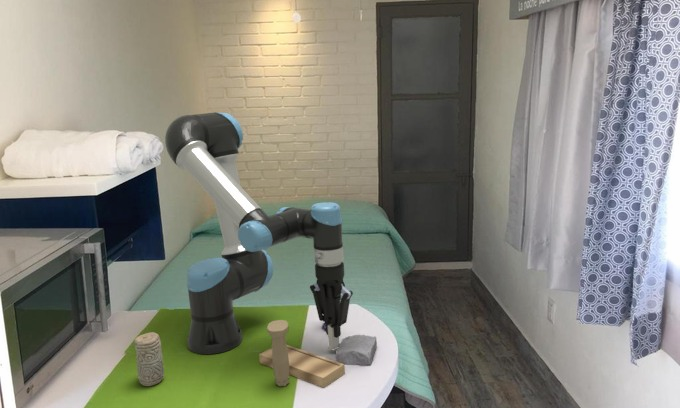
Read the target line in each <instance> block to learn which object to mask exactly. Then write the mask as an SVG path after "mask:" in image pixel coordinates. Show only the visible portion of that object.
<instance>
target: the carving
mask: <svg viewBox="0 0 680 408" xmlns="http://www.w3.org/2000/svg"><path fill="white" fill-rule="evenodd" d="M134 348H135V353H136V354H135V356H136V369H137V370H136V371H137V372H136V373H137V379H138V382H139V384H141V385H142V386H144V387H152V386H154V385H157V384H159V383H161V381H162V380H163V378H164V375H165V371H164V370H165V368H164V360H163V359H164V358H163V351H162V342H161V338H160V336H159V334H158V333H156V332H153V331H151V332H150V331H149V332H146V333H143V334H141V335H139V336H137V337H135V339H134Z"/></svg>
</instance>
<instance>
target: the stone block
mask: <svg viewBox="0 0 680 408" xmlns="http://www.w3.org/2000/svg"><path fill="white" fill-rule="evenodd" d="M339 343H340V344H339V346H338V347H337V348H336V351H335V352H336V360H337V362H339V363H342V364H344V366H371V364H372V361H373V358H374V355H375V352H376V350H377V349H376V348H377V344H378V342H377V336H376V335H375V336H373V335H372V336H370V335H365V334H354V335H349V336H346V337H344V338H342V341H340V342H339Z"/></svg>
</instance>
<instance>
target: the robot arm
mask: <svg viewBox="0 0 680 408" xmlns="http://www.w3.org/2000/svg"><path fill="white" fill-rule="evenodd" d="M242 129H243V128H242V127H241V125H240V123H239V121H238V119H236V118H235V117H234V116H232V115H231V114H230V113H227V112H218V111H217V112H216V111H215V112H214V111H213V112H207V113H200V114H199V113H198V114H187V115H186V114H185V115H181V116H179V117H177V118H176V119H174V120H173V121H172V122H171V123H170V124H169V125H168V128H167V129H166V131H165V137H164V140H165V142H164V143H165V148H166V152H167V153H168V156H169V157H170V158H171V161H172V162H173V163H174V164H175V165H176V166H177V167H178V168H179V169H180V170H186V172H187V173H188V174H189V175H190V176H191V177H192V178H193V179H194V180H195V181H196V182H197V183H198V184H199V186H200V187H201V188H202V189H203V191H204V192H206V193H207V195H208V196H209V197H210V198H211V199H212V201H213V202H214V206H215V210H216V215H217V219H218V224H219V227H220V232H221V235H222V241H223V244H224V248H223V250H222V251H221V254H220V255H221V257H212V258H209V259H203V260H201V261H197V262H196V263H194V264H193V265H191V267H189V269H188V270H187V273H186V279H187V280H186V282H187V283H186V287H187V290H188V291H187V292H188V299H189V301H188V302H189V309H190V319H191V320H190V321H191V322H190V326H189V331H188V336H187V347H188V350H189V351H190V352H192V353H195V354H198V355H213V354H214V355H215V354H220V353H224V352H228V351H230V350H233V349H234V348H237V346H239V345H240V344H241V343H242V341H243V331H242V329H241V327H240V325H239V322H238V320H237V319H236V316H235V313H234V305H233V304H234V302H233V301H235V300H238V299H240V298H242V297H245V296H247V295H250V294H252V293H256V292H258V291H260V290H262V288H264V287H266V286H268V285H269V283H270V282H271V280H272V279H273V274H274V264H273V260H272V258H271V256H270V255H268V252H267V251H266V250H267V249H269V248H271V247H273V246H276V245H279V244H282V243H286V242H289V241H292V240H294V239H298V238H303V239H304V238H305V239H311V240H312V242H313V243H312V244H313V254H314V263H315V265H314V272H315V273H314V274H315V278H316V282H315V283H314V284H312V285H310V286H309V289H310V291H311V293H312V295H313V299H314V304H315V308H316V310H317V316H318V319H319V321H320V322H323V324H324V323H325V324H326V330H325V332H326V336H327V337H328V338H327V339H328V341H327V342H328V349H330V350H333V351H334V350H335V349H338V346H339V344H340V343H341V342H340V337H341V335H342V333H341V332H342V331H341V326H343V325H344V324H346V323H347V320H348V314H349V307H350V302H351V297H353V295H354V291H352V290H348V289H347V288H346V284H345V282H344V276H345V263H344V260H345V258H344V245H343V227H342V226H343V219H342V213H341V206H340V205H339V204H338V203H336V202H332V201H329V202H318V203H314V204H312V206H311V209H308V208H302V207H301V208H300V207H295V206H290V207H287V206H286V207H285V206H284V207H280V209H279V210H277V212H276V213H275V214H271V215H268V214H267V213H266V212H265V211H264V210H263V209H262V208H261V207H260V206H259V204H257V202H256V201H255V200H254V199H253V198H252V197H251V196H250V195H249V194H248V193H247V192H246V191H245V190H244V188H242V185H241V181H240V176H239V172H238V167H237V164H236V161H237V159H238V157H239V156H240V154H239V153H240V152H239V149H240V148H241V146H242V144H243V141H244V133H243V130H242Z"/></svg>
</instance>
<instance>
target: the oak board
mask: <svg viewBox="0 0 680 408" xmlns="http://www.w3.org/2000/svg"><path fill="white" fill-rule="evenodd" d="M287 351H288V358H289V376H293V377H295V378H298V379H300V380H303V381H306V382H308V383H311V384H313V385H316V386H318V387H320V388H326V387H327V386H329V385H330V384H332V383H333V382H335V381H336V380H337V379H339V378H341V377H342V376H344V375H345V374H346V373H345V372H346V371H345V370H346V369H345V366H346V365H344V364H342V363H339V362H338V361H335V360H333V359H330V358H327V357H324V356H321V355H318V354H315V353H313V352H310V351H307V350H303V349H301V348H297V347H295V346H291V345H289V344H287ZM258 357H259V358H258V359H259V364H261V365H264V366H265V367H269V368H272V369H273V361H272V347H270V348H268V349H266V350H265V351H262V352H261V353H259V354H258Z"/></svg>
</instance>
